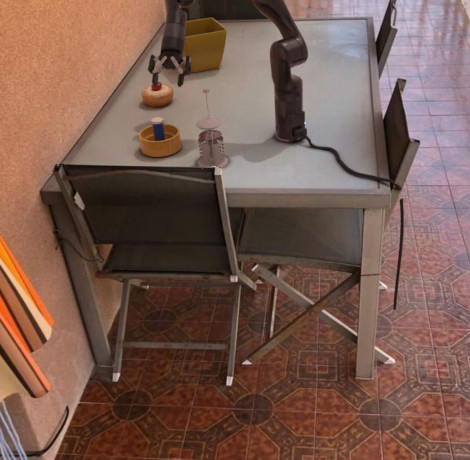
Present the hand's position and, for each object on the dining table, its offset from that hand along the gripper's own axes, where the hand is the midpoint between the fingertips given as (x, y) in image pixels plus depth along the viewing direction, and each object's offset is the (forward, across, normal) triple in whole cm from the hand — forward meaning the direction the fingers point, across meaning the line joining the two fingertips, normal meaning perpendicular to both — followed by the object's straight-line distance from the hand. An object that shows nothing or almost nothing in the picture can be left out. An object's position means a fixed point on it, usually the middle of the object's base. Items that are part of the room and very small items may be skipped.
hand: (167, 85), depth 217 cm
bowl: (+21, 0, +4) cm, 21 cm away
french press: (+26, +20, -1) cm, 33 cm away
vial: (+20, 0, +3) cm, 20 cm away
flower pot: (-31, -9, +57) cm, 66 cm away
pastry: (-5, -14, +30) cm, 33 cm away
